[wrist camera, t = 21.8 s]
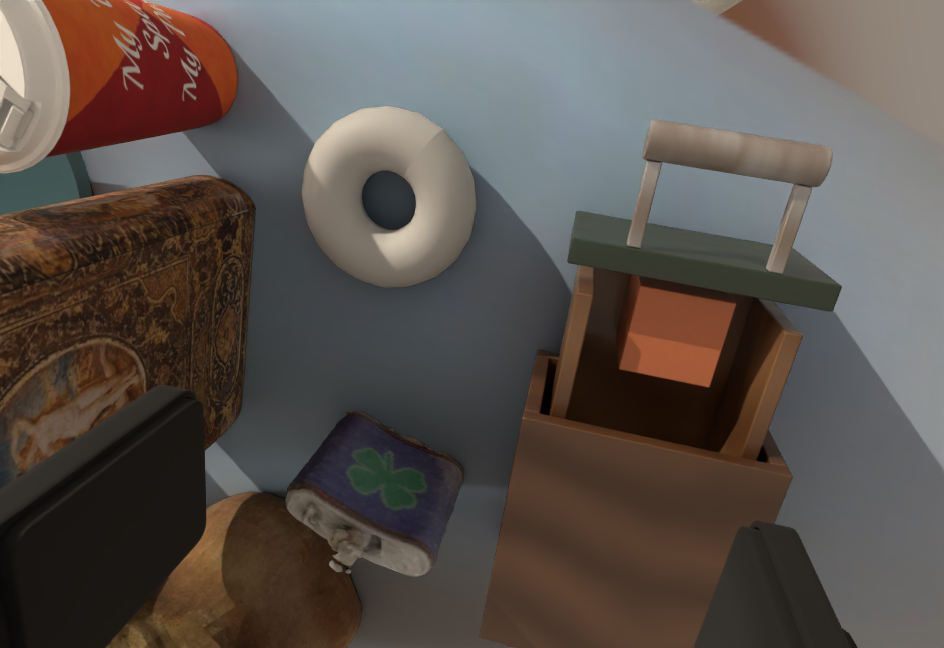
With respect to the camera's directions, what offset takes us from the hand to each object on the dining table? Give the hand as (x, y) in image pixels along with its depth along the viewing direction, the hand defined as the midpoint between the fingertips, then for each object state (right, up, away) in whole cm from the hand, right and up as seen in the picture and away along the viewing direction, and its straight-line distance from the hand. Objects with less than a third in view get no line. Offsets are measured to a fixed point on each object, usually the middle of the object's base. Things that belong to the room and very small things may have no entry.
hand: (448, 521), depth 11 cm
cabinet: (+10, -6, +29) cm, 31 cm away
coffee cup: (-16, +18, +25) cm, 35 cm away
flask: (-4, -5, +32) cm, 32 cm away
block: (+11, +4, +23) cm, 25 cm away
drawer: (+11, +5, +24) cm, 27 cm away
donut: (-4, +11, +25) cm, 28 cm away
